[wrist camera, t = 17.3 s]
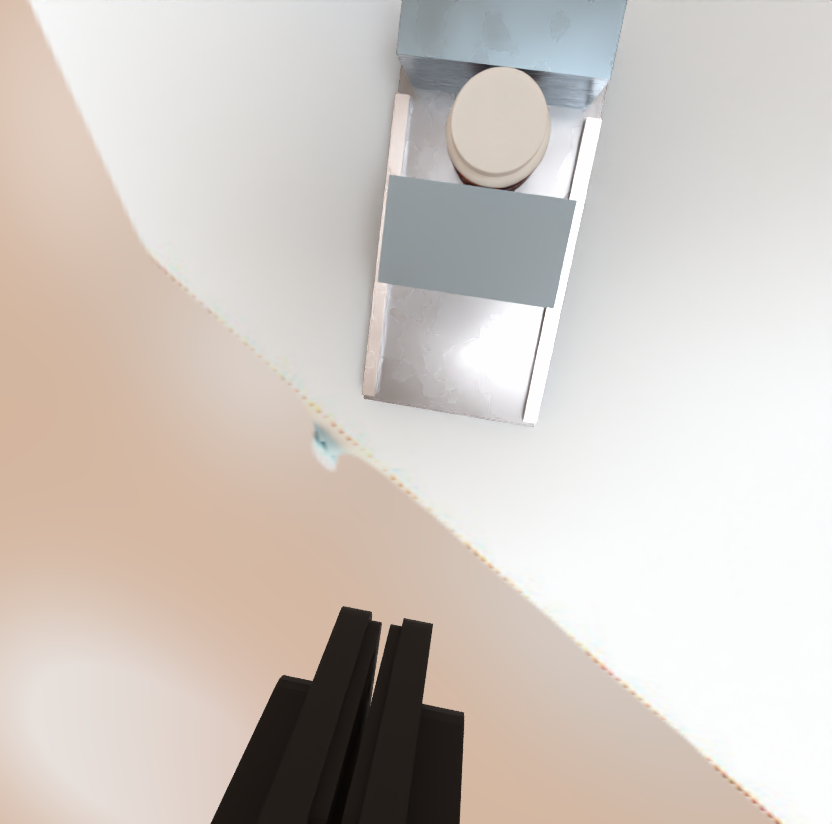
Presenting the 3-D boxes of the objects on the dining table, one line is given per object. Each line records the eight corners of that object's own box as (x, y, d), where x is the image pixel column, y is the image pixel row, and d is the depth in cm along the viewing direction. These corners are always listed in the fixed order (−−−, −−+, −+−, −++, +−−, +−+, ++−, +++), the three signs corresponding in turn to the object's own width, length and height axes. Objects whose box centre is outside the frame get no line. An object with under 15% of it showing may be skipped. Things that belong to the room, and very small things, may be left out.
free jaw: (406, 185, 32) (389, 174, 26) (561, 207, 31) (577, 200, 25) (395, 275, 33) (377, 282, 28) (542, 297, 32) (554, 308, 27)
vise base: (411, 9, 30) (389, -57, 23) (615, 33, 29) (653, -29, 23) (367, 393, 37) (340, 428, 30) (531, 421, 36) (542, 463, 29)
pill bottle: (457, 203, 32) (447, 191, 24) (447, 112, 30) (433, 67, 23) (542, 190, 31) (561, 173, 23) (535, 96, 30) (553, 43, 22)
